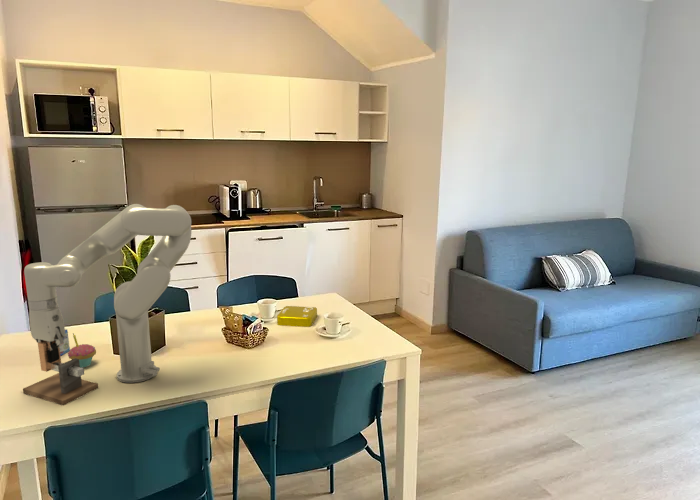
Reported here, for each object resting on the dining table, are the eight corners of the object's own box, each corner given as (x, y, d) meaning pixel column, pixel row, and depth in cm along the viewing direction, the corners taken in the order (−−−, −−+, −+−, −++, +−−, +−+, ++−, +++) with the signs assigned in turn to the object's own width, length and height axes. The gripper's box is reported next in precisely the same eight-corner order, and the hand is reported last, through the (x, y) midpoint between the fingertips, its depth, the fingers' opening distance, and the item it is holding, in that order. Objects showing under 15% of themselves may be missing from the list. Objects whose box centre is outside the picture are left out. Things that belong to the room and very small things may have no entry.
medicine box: (54, 359, 181) (51, 336, 180) (43, 358, 182) (40, 335, 181) (70, 351, 189) (67, 328, 187) (60, 350, 190) (57, 328, 188)
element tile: (285, 314, 230) (285, 304, 229) (318, 316, 228) (317, 306, 227) (275, 326, 216) (275, 315, 215) (310, 328, 214) (310, 317, 213)
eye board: (98, 387, 161) (94, 357, 159) (63, 405, 150) (59, 372, 148) (59, 377, 168) (55, 347, 166) (23, 393, 157) (18, 361, 155)
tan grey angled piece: (88, 372, 156) (85, 344, 154) (74, 379, 152) (70, 350, 150) (56, 363, 162) (52, 337, 160) (41, 370, 157) (37, 342, 155)
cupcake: (69, 372, 172) (65, 338, 169) (69, 362, 179) (65, 330, 177) (97, 367, 176) (94, 334, 173) (96, 357, 183) (93, 326, 181)
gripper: (72, 303, 155) (79, 360, 159) (37, 296, 161) (44, 351, 165) (49, 310, 148) (57, 369, 152) (13, 303, 155) (21, 360, 158)
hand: (50, 359), depth 159 cm, fingers closed on tan grey angled piece, 2 cm apart
